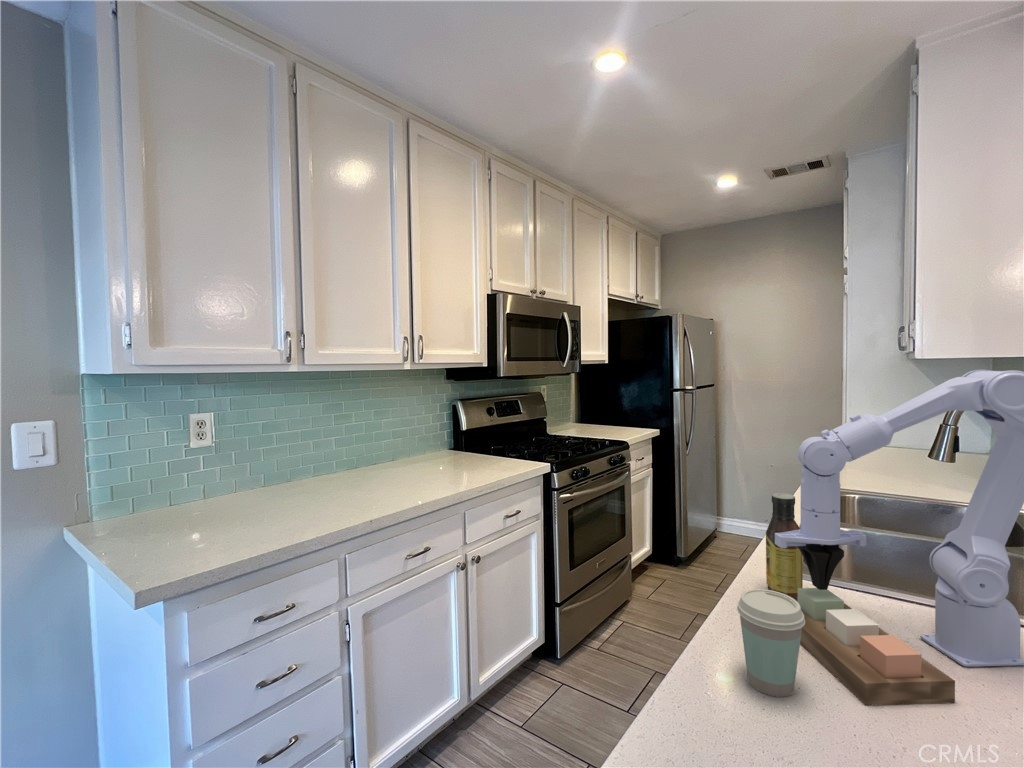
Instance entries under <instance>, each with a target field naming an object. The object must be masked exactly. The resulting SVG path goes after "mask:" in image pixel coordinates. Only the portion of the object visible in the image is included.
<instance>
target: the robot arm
mask: <svg viewBox="0 0 1024 768" xmlns="http://www.w3.org/2000/svg"><path fill="white" fill-rule="evenodd" d="M950 411H951V412H952V411H959V412H960V411H964V412H965V411H966V412H969V411H970V412H971V411H973V412H975V413H977V414H978V415H980V416H981V417H983V418H984V419H983V420H985V421H986V422H987V424H989V426H990V427H991V428H992V430H993V431H994V432H995V433H996V435H997V436H996V439H995V441H994V444H993V446H992V449H991V451H990V453H989V455H988V458H987V460H986V463H985V465H984V468H982V469H983V470H982V473H981V475H980V477H979V479H978V481H977V482H976V483H977V484H976V486H975V489H974V490H973V493H972V496H971V497H970V501H969V503H968V504H967V507H966V509H965V512H964V513H963V517H962V519H961V521H960V524H959V526H958V527H957V528H955V529H953V530H952V531H950V532H948V533H947V534H946V536H945V538H944V539H943V541H942V543H940V544H939V545H938V546H936V547H934V548H933V550H932V551H931V552H930V555H929V558H928V559H929V561H928V562H929V566H930V568H931V569H932V571H933V572H934V574H936V575H937V578H938V579H937V582H936V583H935V587H934V588H935V592H934V593H935V594H934V596H935V598H934V601H935V602H934V603H935V604H934V606H935V610H934V613H935V614H934V615H935V616H934V624H935V625H934V633H928V634H927V633H926V634H920V635H919V638H920V639H921V640H923V641H924V642H926V643H927V644H929V645H931V646H932V647H934V648H935V649H937V650H938V651H940V653H943V654H944V655H945V656H947V657H949V658H950V659H952V660H954V662H956V663H958V664H959V665H960V666H963V667H966V668H967V667H969V668H970V667H971V668H972V667H974V668H975V667H1001V666H1002V667H1003V666H1004V667H1005V666H1024V659H1023V658H1021V623H1022V622H1021V618H1020V615H1019V613H1018V610H1017V609H1016V607H1015V606H1014V604H1013V603H1011V602H1010V600H1008V598H1007V596H1008V594H1009V589H1010V585H1009V581H1008V574H1009V570H1010V568H1011V562H1010V559H1009V555H1008V553H1007V549H1006V544H1007V542H1008V539H1009V537H1010V535H1011V533H1012V531H1013V528H1014V526H1015V523H1016V522H1017V519H1018V517H1019V515H1020V512H1021V511H1022V508H1023V506H1024V371H1022V370H1013V369H1012V370H1011V369H1010V370H1003V371H1002V370H989V369H976V370H975V369H974V370H971V371H968V372H966V373H965V374H963V375H962V376H957V377H954V378H950V379H948V380H946V381H945V382H942V383H940V384H939V385H937V386H935V387H933V388H931V389H929V390H927V391H925V392H923V393H921V394H919V395H918V396H915V397H914V398H911V399H909V400H907V401H906V402H904V403H902V404H900V405H898V406H896V407H894V408H893V409H890V410H889V411H887V412H885V413H882V414H881V415H875V414H871V413H864V414H862V415H860V414H858V413H855V414H852V415H850V416H849V421H848V422H846V423H843V424H841V425H840V426H837V427H835V428H833V429H831V430H829V429H824V430H822V431H820V433H821V434H822V436H811V437H808V438H806V439H805V440H803V441H802V442H801V444H800V445H799V448H798V450H797V451H796V455H797V458H798V461H800V462H801V464H802V465H801V470H800V475H801V478H800V529H799V530H794V531H789V532H783V533H775V544H776V545H777V546H779V547H780V548H787V546H798V548H799V550H800V551H801V553H802V558H803V559H804V561H805V564H806V566H807V569H808V572H809V575H810V579H811V583H812V586H813V587H814V588H818V589H819V590H829V589H828V588H829V586H830V582H831V579H832V576H833V574H834V571H835V570H836V568H837V567H838V565H839V563H840V562H841V560H843V558H844V557H845V551H844V549H842V548H841V547H840V546H851V545H852V546H856V545H857V546H859V547H866V546H867V534H865V533H863V532H860V531H858V530H841V483H840V481H841V480H840V473H841V471H843V469H845V466H846V464H847V463H848V462H849V463H851V462H853V461H856V460H858V459H860V458H861V457H862V458H863V457H865V456H867V455H869V454H871V453H873V452H875V451H878V450H880V449H882V448H884V447H887V446H889V445H890V444H891V442H892V440H893V437H894V434H895V433H898V432H900V431H903V430H905V429H908V428H910V427H913V426H916V425H918V424H920V423H923V422H925V421H927V420H930V419H933V418H934V417H937V416H940V415H942V414H945V413H947V412H950ZM1006 598H1007V599H1006Z"/></svg>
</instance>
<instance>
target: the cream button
mask: <svg viewBox="0 0 1024 768" xmlns="http://www.w3.org/2000/svg"><path fill="white" fill-rule="evenodd" d="M879 626H880V625H879V624H878V623H876V622H875V621H873V620H872V619H871V618H870V617H868V616H866V615H865V614H863V613H862V612H860V611H859V610H858V609H856V608H852V609H838V610H826V630H827V631H828V632H829V633H830V634H832V635H833V636H834V637H835V638H837V639H838V640H839V641H840V642H841V643H843V644H844V645H845V646H846V647H850V646H860V636H872V635H879V628H880V627H879Z"/></svg>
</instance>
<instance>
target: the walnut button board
mask: <svg viewBox="0 0 1024 768" xmlns="http://www.w3.org/2000/svg"><path fill="white" fill-rule="evenodd" d="M844 609H853V608H852V607H850V606H849V605H848V604H846V603H845V602H844ZM802 612H803V614H804V619H805V624H804V626H803V627H802V632H801V640H800V646H802V647H803V649H805V650H806V651H807V652H808V653H809V654H810V655H812V656H813V657H814V659H816V660H817V661H818V662H819V663H820V664H821V665H822V666H823V667H824V668H825V669H826V670H827V671H828V672H829V673H830V674H832V675H833V676H834V677H835V679H836V680H838V681H839V682H840V683H841V684H842V685H843V686H844V687H845V688H846V689H848V691H850V693H852V694H853V695H854V696H855V697H856V698H857V699H858V700H859V701H860V702H861V703H863V704H864V705H865V706H891V705H892V706H894V705H898V706H899V705H928V704H929V705H930V704H955V703H956V700H955V699H956V680H955V679H953V678H952V677H950V676H949V675H948V674H946V673H945V672H943V671H942V670H940V669H939V668H937V667H936V666H934V665H933V664H932V663H931V662H928V660H926V659H925V658H923V657H922V656H921V678H898V679H885V678H884V677H883V676H881V675H880V674H879V673H878V672H877V671H875V670H874V669H873V668H872V667H871V666H869V665H868V664H867V663H866V662H864V661H863V660H862V659H861V658H860V646H850V647H846V646H845V645H844V644H843V643H841V642H840V641H839V640H838V639H837V638H835V637H834V636H833V635H832V634H830V633H829V632H828V631H827V630H826V620H813V619H812V618H811V617H810V616H809V615H807V614H806V613H805V612H804V611H803V610H802ZM879 635H890V634H888V633H887V632H886V631H884V630H883V629H882V628H880V627H879Z"/></svg>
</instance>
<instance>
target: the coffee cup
mask: <svg viewBox="0 0 1024 768" xmlns="http://www.w3.org/2000/svg"><path fill="white" fill-rule="evenodd" d="M736 610H737V613H738V614H739V617H740V619H739V620H740V627H741V635H742V641H743V650H744V651H743V652H744V658H745V666H746V667H745V668H746V673H747V681H748V683H750V685H751V686H752V687H753V688H754V689H755V690H757V691H759V692H761V693H763V694H765V695H768V696H773V697H778V698H779V697H782V698H784V697H788V696H790V695H792V694H793V693H794V691H795V690H794V689H795V682H796V679H797V678H796V676H797V669H798V662H799V653H800V646H801V644H800V640H801V632H802V627H803V626H804V624H805V619H804V614H803V612H802V610H801V607H800V604H799V603H798V600H797V599H793V598H791V597H790V596H788V595H785V594H783V593H780V592H776V591H771V590H768V589H763V588H756V589H748V590H745V591H743V592H742V593H741V595H740V598H739V600H738V601H737V606H736Z"/></svg>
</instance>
